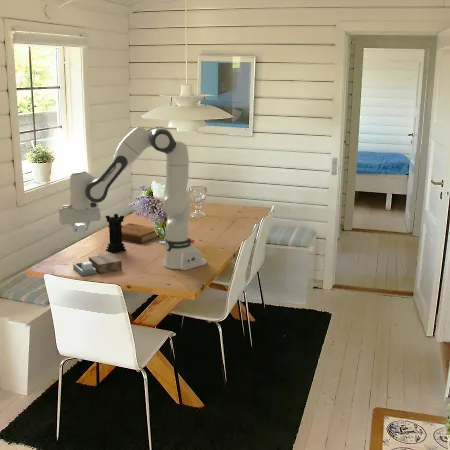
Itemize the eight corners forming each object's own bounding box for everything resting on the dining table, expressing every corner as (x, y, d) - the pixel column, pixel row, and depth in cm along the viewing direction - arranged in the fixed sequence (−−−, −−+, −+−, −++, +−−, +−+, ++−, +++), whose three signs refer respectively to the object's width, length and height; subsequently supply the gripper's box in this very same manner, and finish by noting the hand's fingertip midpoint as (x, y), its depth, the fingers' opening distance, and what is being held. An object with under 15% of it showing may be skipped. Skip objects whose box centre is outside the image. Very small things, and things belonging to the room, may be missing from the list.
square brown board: (111, 262, 308) (110, 253, 307) (121, 270, 297) (121, 260, 296) (89, 266, 302) (88, 257, 301) (99, 274, 291) (98, 264, 289)
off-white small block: (89, 270, 295) (89, 261, 293) (92, 272, 291) (92, 263, 290) (82, 271, 293) (81, 262, 291) (84, 274, 289) (84, 264, 288)
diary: (110, 239, 352) (110, 230, 350) (130, 232, 368) (129, 223, 366) (141, 244, 341) (141, 235, 339) (160, 237, 357) (159, 228, 355)
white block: (83, 232, 296) (82, 222, 295) (85, 234, 293) (85, 224, 291) (75, 233, 294) (75, 223, 292) (77, 235, 291) (77, 225, 289)
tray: (86, 266, 302) (86, 261, 302) (96, 274, 291) (96, 269, 290) (73, 268, 299) (73, 263, 298) (82, 276, 287) (82, 271, 287)
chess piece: (126, 250, 328) (125, 215, 323) (114, 253, 323) (113, 218, 317) (117, 247, 334) (116, 213, 328) (106, 250, 328) (104, 215, 323)
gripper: (60, 207, 281) (61, 235, 285) (101, 203, 292) (102, 230, 295) (56, 204, 286) (57, 231, 290) (97, 200, 297) (97, 227, 301)
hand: (80, 230), depth 293 cm, fingers closed on white block, 4 cm apart
